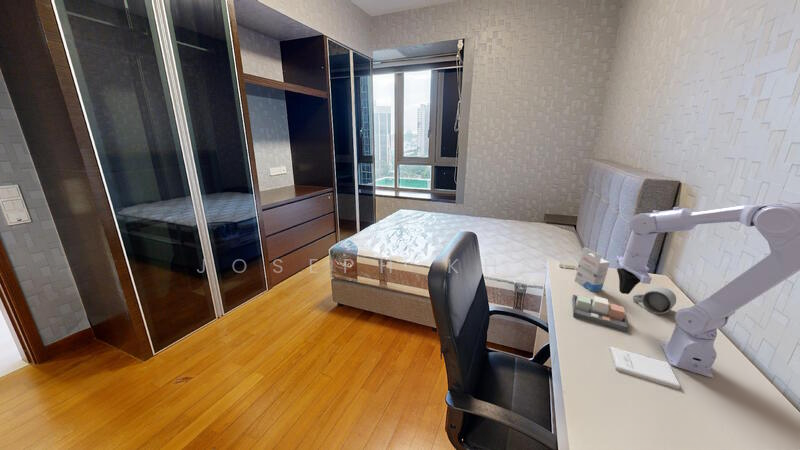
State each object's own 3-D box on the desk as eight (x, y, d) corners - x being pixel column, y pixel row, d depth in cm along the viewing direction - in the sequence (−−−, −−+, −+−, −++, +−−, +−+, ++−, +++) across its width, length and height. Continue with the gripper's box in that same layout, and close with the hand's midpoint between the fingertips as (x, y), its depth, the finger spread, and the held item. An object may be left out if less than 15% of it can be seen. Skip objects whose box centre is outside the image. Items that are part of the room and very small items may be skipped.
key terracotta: (622, 321, 90) (625, 312, 89) (608, 317, 91) (611, 309, 90) (620, 315, 93) (623, 306, 92) (607, 311, 94) (609, 303, 93)
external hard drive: (678, 391, 68) (614, 371, 72) (665, 366, 75) (608, 350, 79) (680, 386, 67) (616, 366, 72) (667, 361, 74) (610, 345, 79)
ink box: (602, 290, 108) (613, 254, 104) (591, 291, 107) (602, 255, 103) (584, 279, 116) (593, 245, 111) (573, 280, 115) (582, 246, 110)
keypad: (627, 331, 86) (628, 326, 86) (573, 316, 92) (574, 311, 92) (620, 311, 96) (622, 306, 96) (572, 298, 102) (573, 293, 102)
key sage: (588, 312, 94) (591, 303, 93) (575, 308, 95) (578, 300, 94) (587, 306, 97) (590, 298, 96) (575, 303, 98) (577, 295, 97)
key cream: (606, 313, 91) (608, 304, 90) (592, 309, 93) (595, 301, 92) (604, 307, 94) (607, 299, 93) (591, 304, 96) (594, 295, 95)
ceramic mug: (673, 310, 98) (681, 290, 96) (667, 318, 93) (674, 297, 91) (635, 296, 106) (641, 277, 104) (628, 303, 101) (634, 283, 99)
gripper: (669, 264, 78) (653, 307, 83) (638, 244, 92) (625, 282, 96) (640, 261, 79) (626, 304, 84) (613, 242, 93) (602, 279, 97)
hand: (624, 292), depth 90 cm, fingers closed
